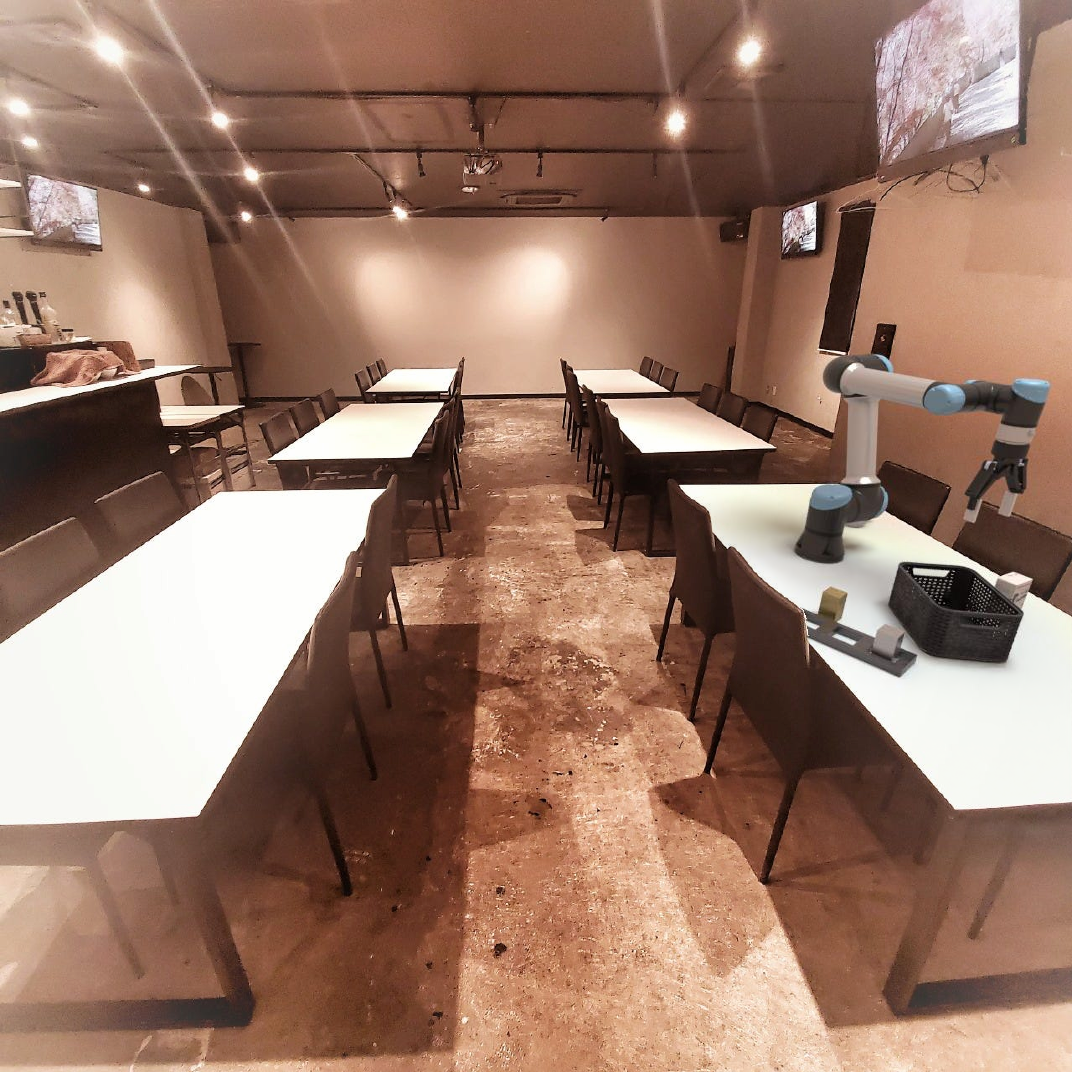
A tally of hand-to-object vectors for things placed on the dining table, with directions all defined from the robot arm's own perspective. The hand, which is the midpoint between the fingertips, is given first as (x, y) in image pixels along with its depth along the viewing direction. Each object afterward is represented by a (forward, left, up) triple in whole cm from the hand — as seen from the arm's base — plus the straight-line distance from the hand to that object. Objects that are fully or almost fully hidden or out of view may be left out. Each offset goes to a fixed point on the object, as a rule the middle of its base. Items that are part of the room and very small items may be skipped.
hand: (986, 518), depth 160 cm
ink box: (+10, -1, -26) cm, 28 cm away
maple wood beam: (-20, -39, -26) cm, 50 cm away
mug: (-46, +38, -26) cm, 65 cm away
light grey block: (-2, -48, -26) cm, 54 cm away
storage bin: (+2, -21, -26) cm, 34 cm away
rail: (-12, -48, -26) cm, 55 cm away
